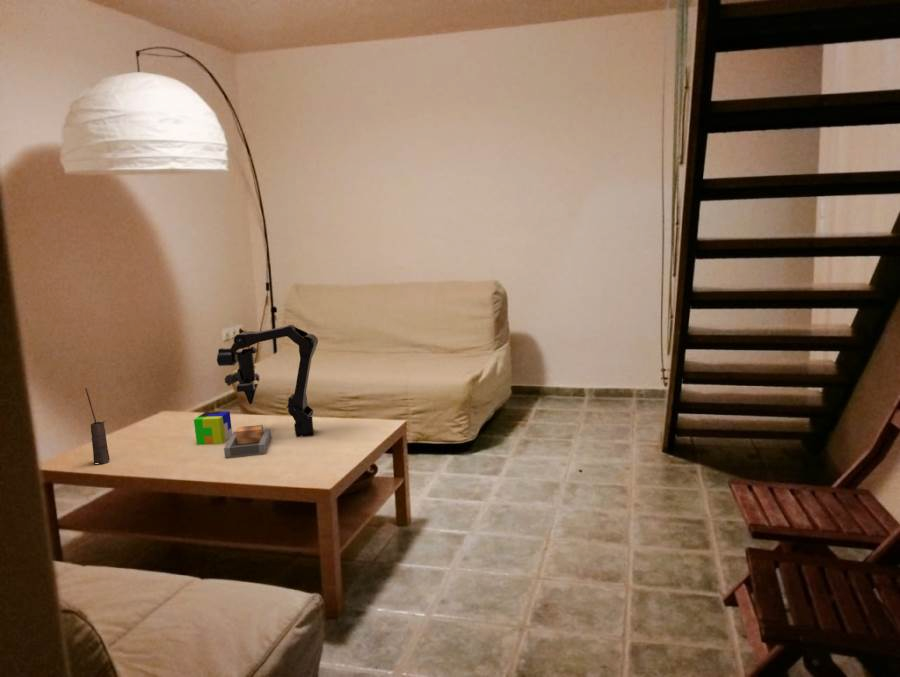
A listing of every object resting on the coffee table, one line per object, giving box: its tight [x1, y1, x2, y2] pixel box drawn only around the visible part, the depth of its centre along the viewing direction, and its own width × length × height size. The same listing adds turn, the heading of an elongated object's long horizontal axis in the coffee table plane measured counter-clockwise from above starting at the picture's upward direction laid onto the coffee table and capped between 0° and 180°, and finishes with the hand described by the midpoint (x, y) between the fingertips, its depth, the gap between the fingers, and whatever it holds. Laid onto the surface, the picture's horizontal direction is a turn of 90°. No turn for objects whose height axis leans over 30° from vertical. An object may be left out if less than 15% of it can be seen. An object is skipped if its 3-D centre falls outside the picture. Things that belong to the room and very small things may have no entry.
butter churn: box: [84, 387, 111, 464], centre depth 249 cm, size 9×10×28 cm
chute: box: [223, 428, 272, 459], centre depth 257 cm, size 14×20×4 cm
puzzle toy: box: [193, 411, 233, 445], centre depth 269 cm, size 10×10×10 cm
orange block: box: [235, 424, 265, 444], centre depth 262 cm, size 9×6×5 cm, turn 98°
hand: (250, 403), depth 269 cm, fingers closed
